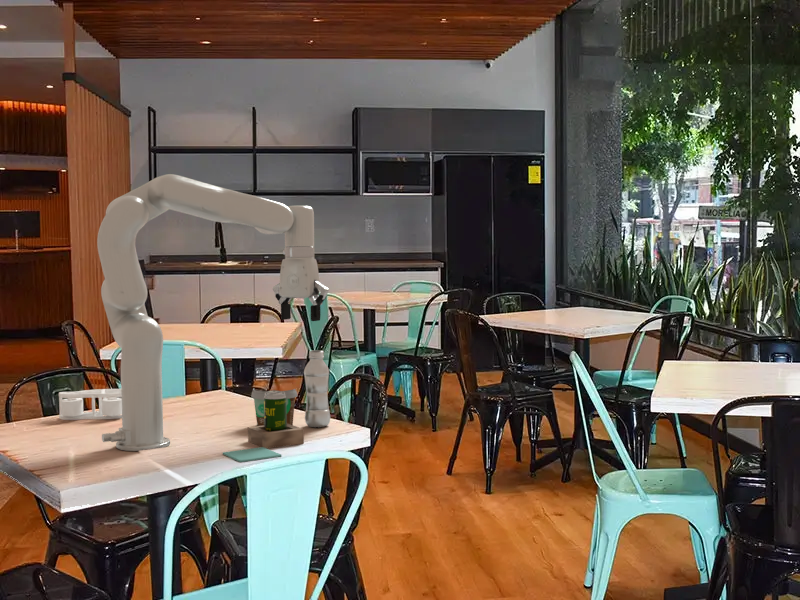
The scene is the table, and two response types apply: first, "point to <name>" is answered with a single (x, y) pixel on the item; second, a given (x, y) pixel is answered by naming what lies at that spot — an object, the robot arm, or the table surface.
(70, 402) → the white slotted holder
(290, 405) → the food container
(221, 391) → the table surface
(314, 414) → the plastic bottle
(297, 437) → the walnut socket block
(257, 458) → the teal mat
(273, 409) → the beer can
